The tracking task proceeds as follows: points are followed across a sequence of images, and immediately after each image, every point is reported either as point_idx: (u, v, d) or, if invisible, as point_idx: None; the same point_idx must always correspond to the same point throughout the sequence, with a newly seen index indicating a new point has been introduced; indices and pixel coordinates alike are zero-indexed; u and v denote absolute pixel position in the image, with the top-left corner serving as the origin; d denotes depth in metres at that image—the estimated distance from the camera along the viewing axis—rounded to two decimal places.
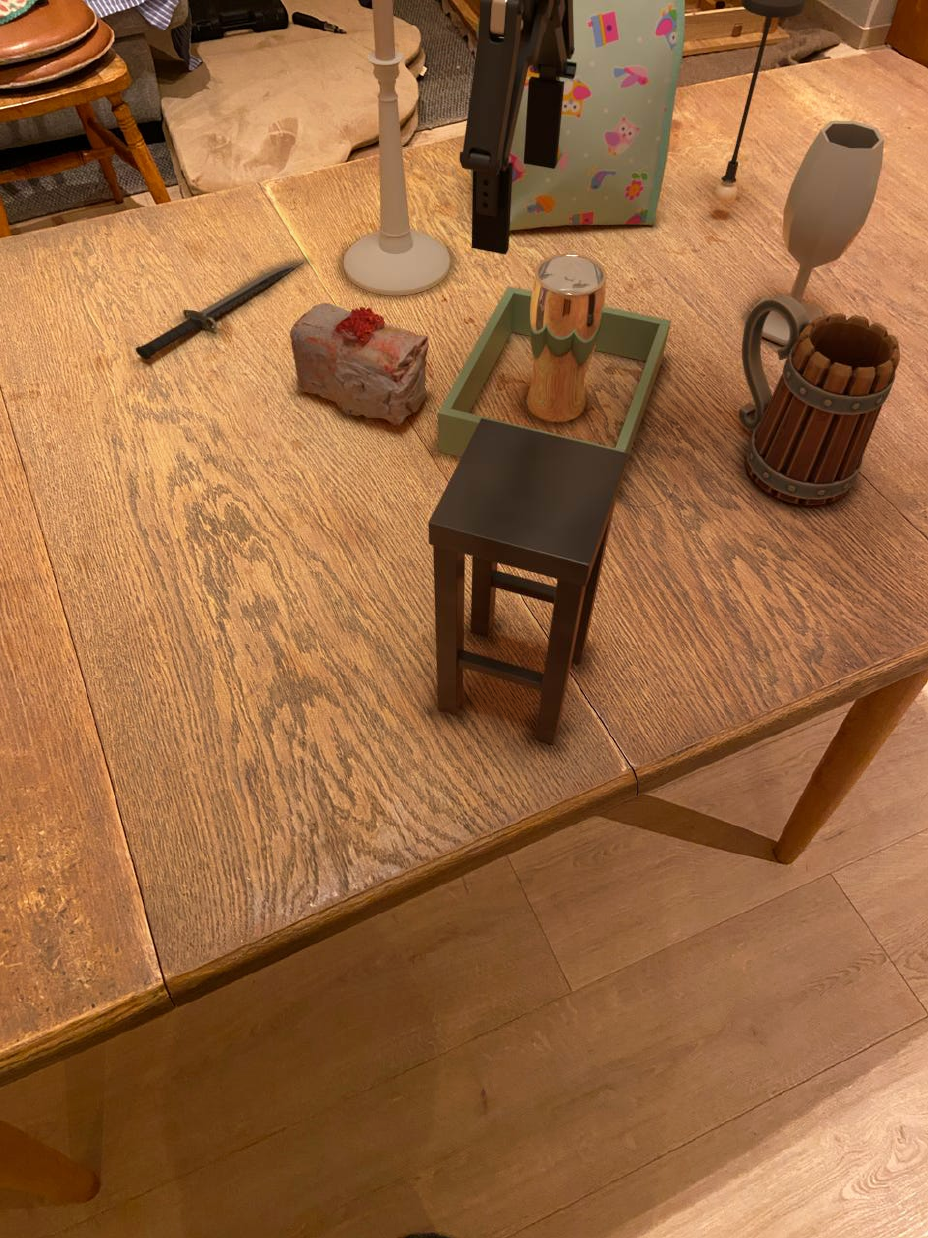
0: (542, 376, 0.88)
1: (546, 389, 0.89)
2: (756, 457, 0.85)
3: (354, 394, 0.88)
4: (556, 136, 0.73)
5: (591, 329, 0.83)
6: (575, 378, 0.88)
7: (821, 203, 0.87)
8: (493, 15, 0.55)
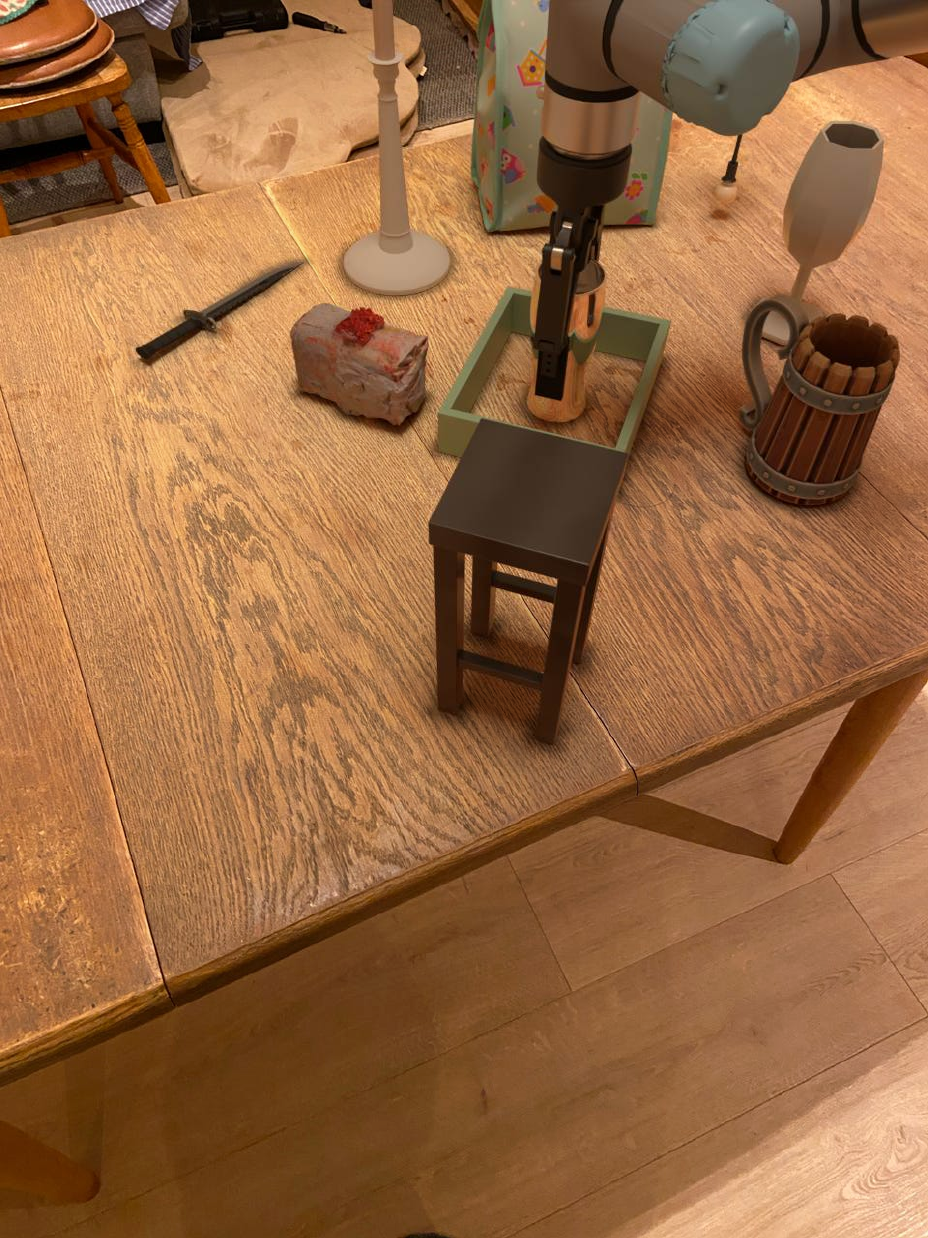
0: None
1: None
2: (756, 457, 0.85)
3: (354, 394, 0.88)
4: None
5: (591, 329, 0.83)
6: (575, 378, 0.88)
7: (821, 203, 0.87)
8: (552, 261, 0.74)
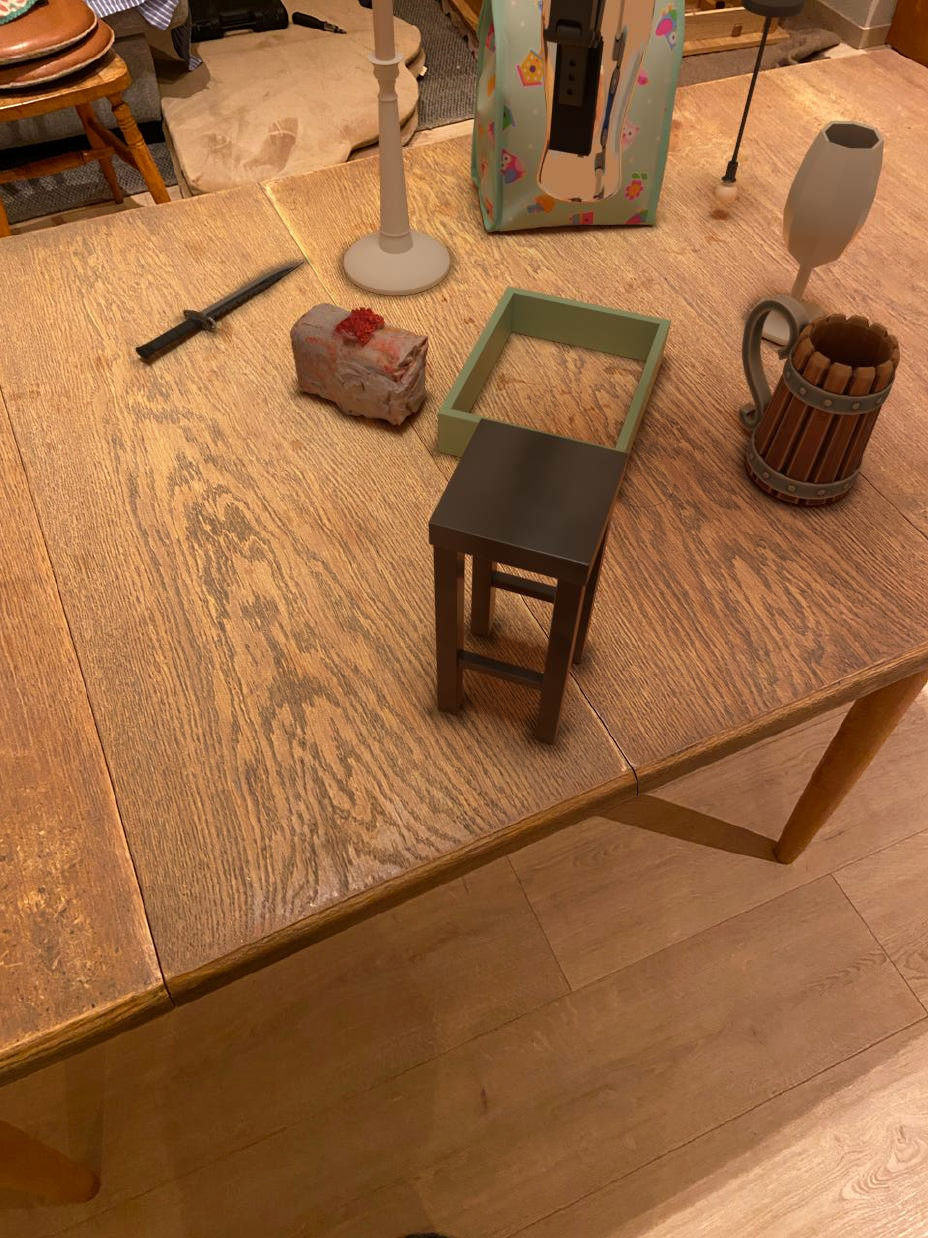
0: None
1: None
2: (756, 457, 0.85)
3: (354, 394, 0.88)
4: None
5: (637, 24, 0.54)
6: (609, 123, 0.59)
7: (821, 203, 0.87)
8: None
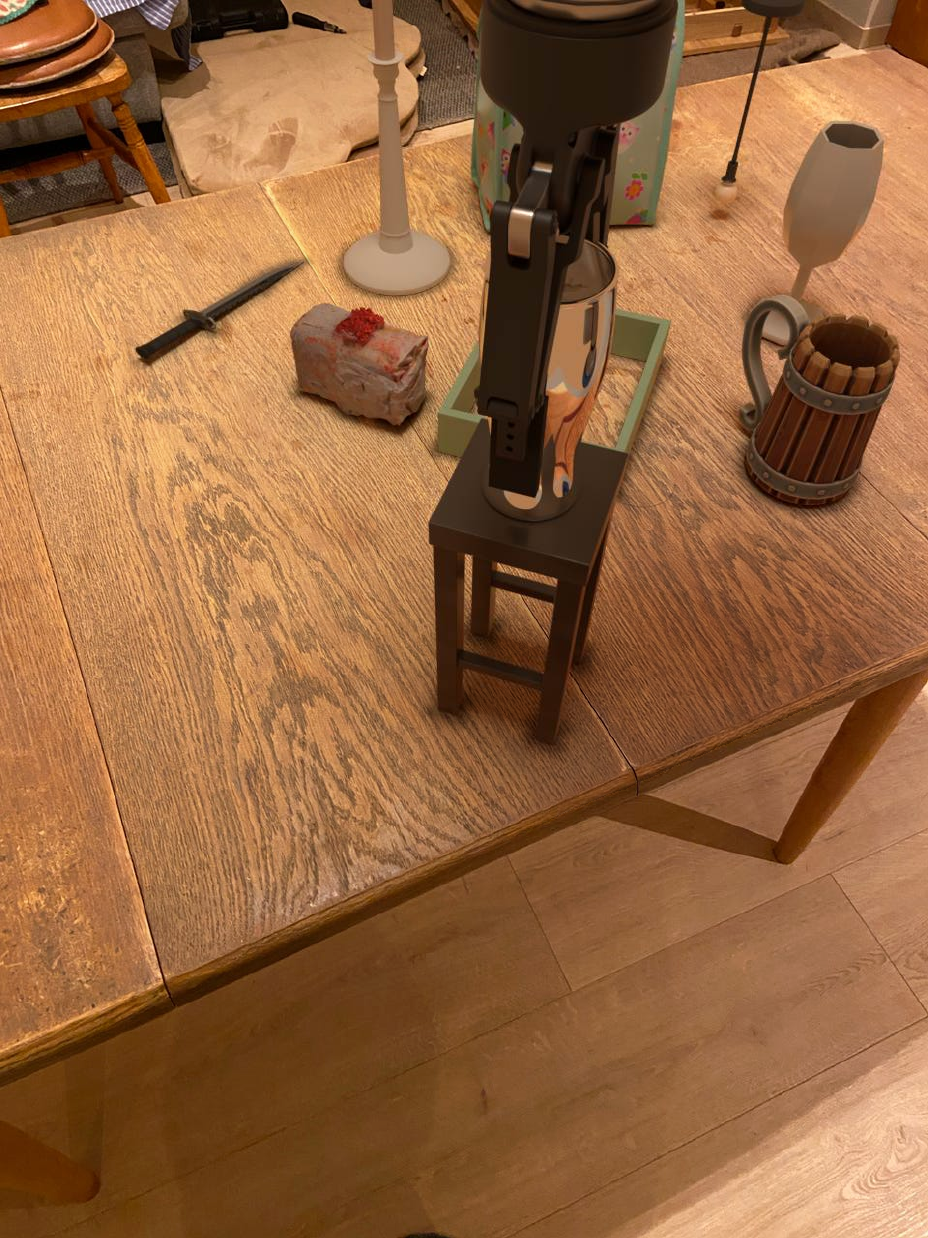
0: None
1: None
2: (756, 457, 0.85)
3: (354, 394, 0.88)
4: None
5: (591, 368, 0.45)
6: (562, 451, 0.50)
7: (821, 203, 0.87)
8: (511, 238, 0.36)
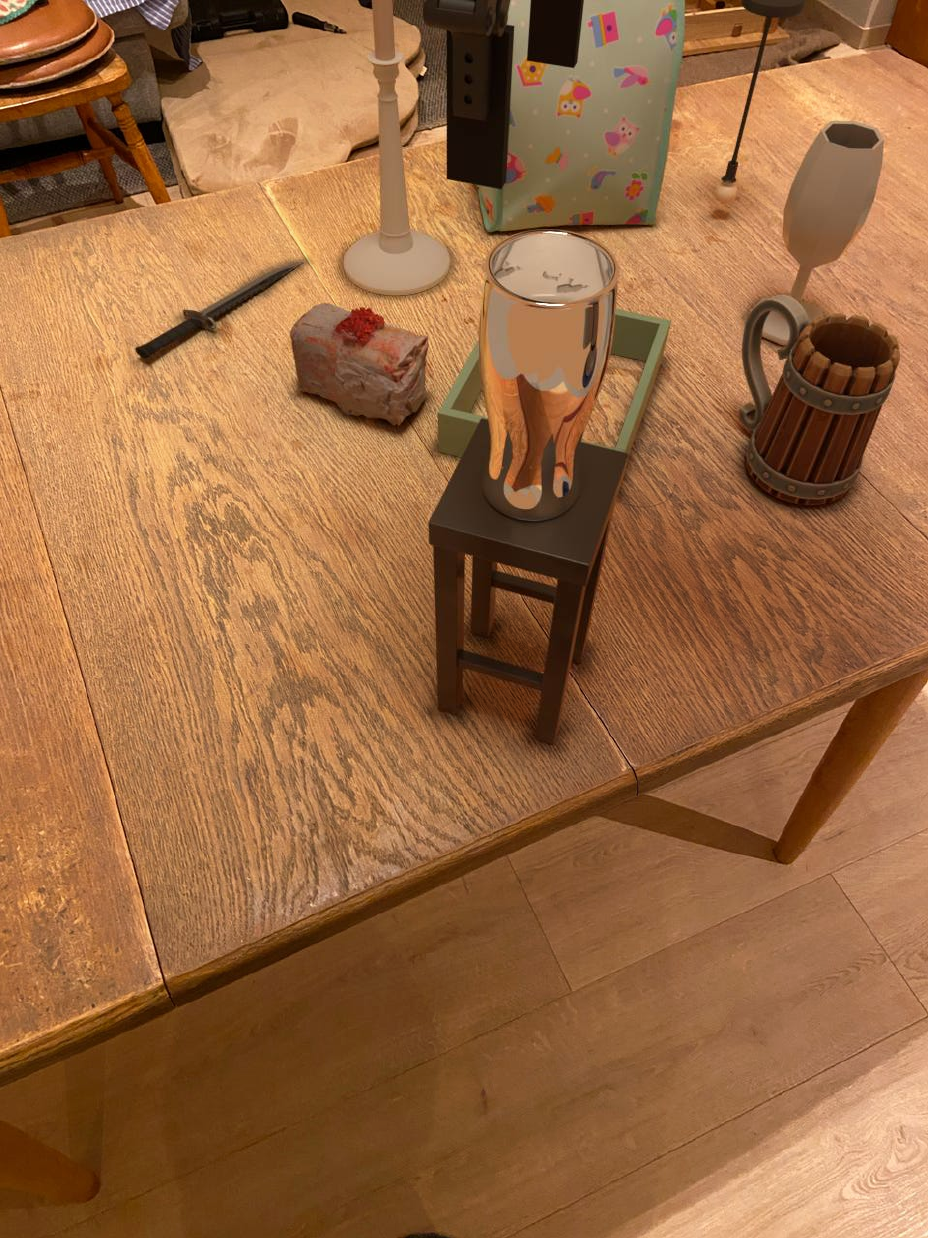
0: (504, 447, 0.50)
1: (512, 468, 0.51)
2: (756, 457, 0.85)
3: (354, 394, 0.88)
4: (578, 13, 0.47)
5: (591, 368, 0.45)
6: (562, 451, 0.50)
7: (821, 203, 0.87)
8: None
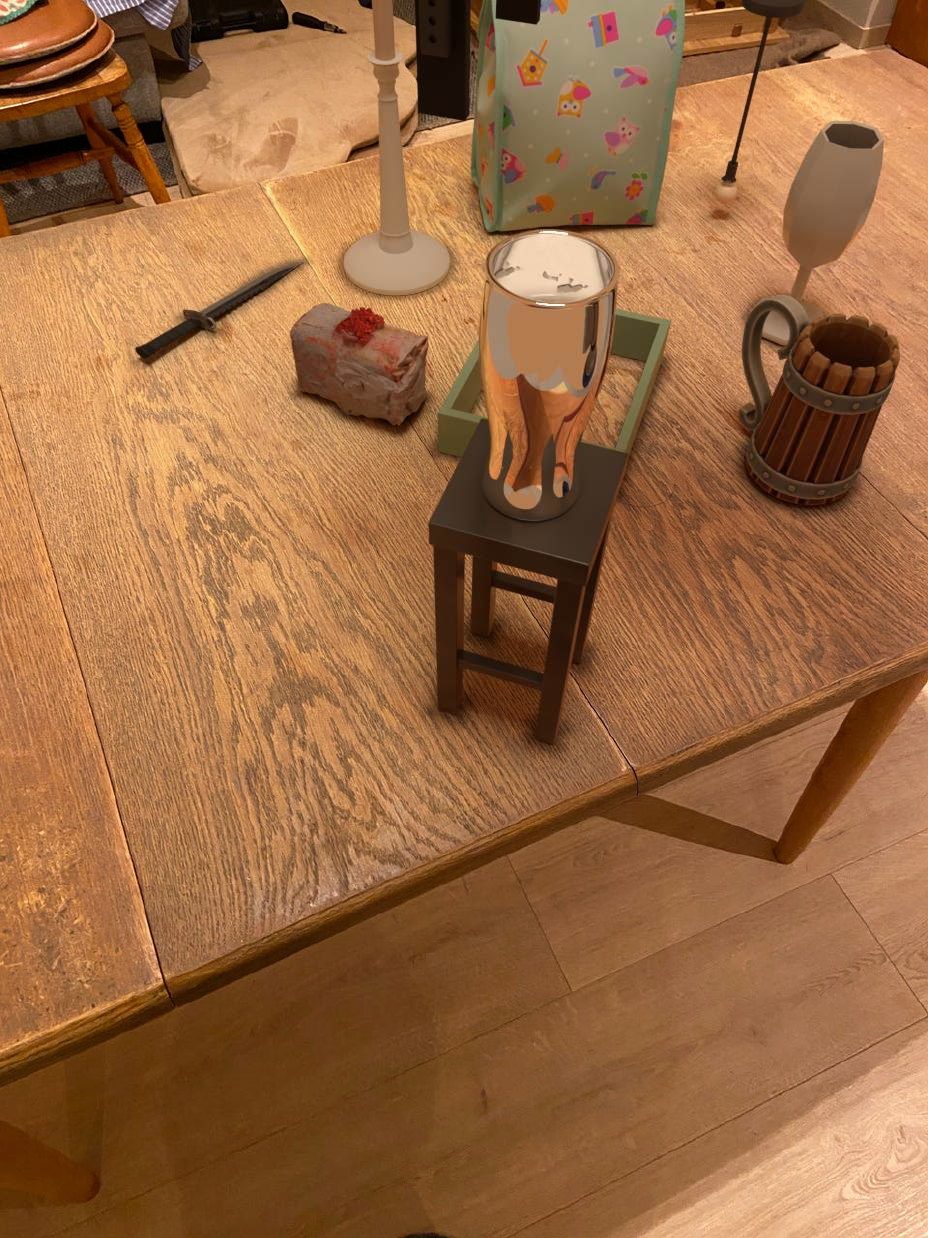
0: (504, 447, 0.50)
1: (512, 468, 0.51)
2: (756, 457, 0.85)
3: (354, 394, 0.88)
4: None
5: (591, 368, 0.45)
6: (562, 451, 0.50)
7: (821, 203, 0.87)
8: None
